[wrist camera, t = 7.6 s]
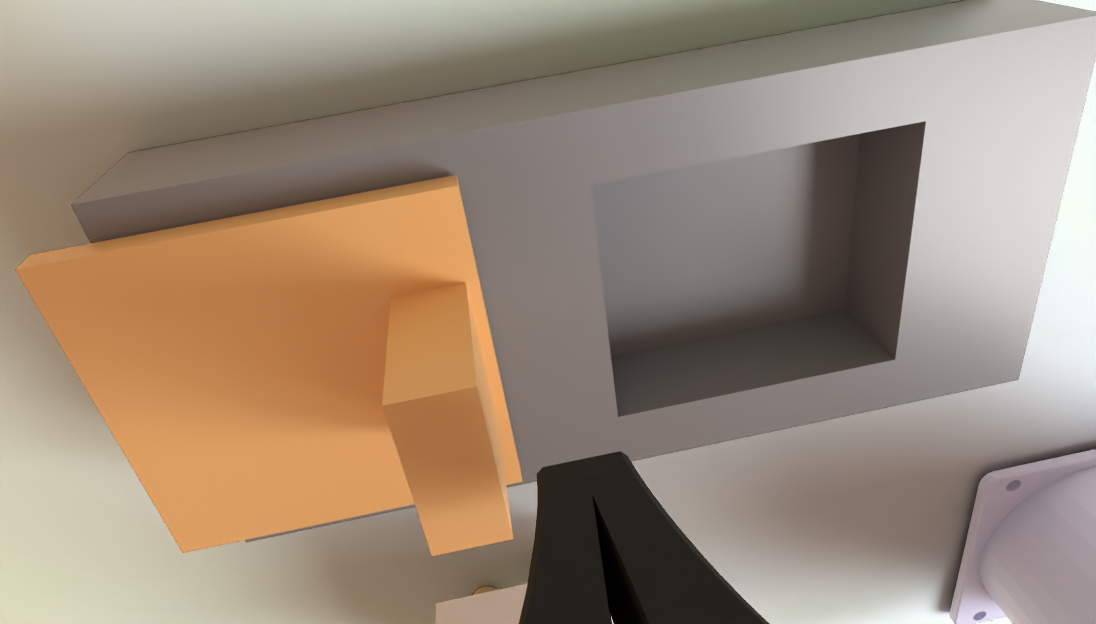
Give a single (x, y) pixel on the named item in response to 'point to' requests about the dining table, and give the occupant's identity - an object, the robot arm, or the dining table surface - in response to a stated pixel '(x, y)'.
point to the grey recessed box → (711, 219)
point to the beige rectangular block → (484, 607)
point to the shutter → (296, 366)
